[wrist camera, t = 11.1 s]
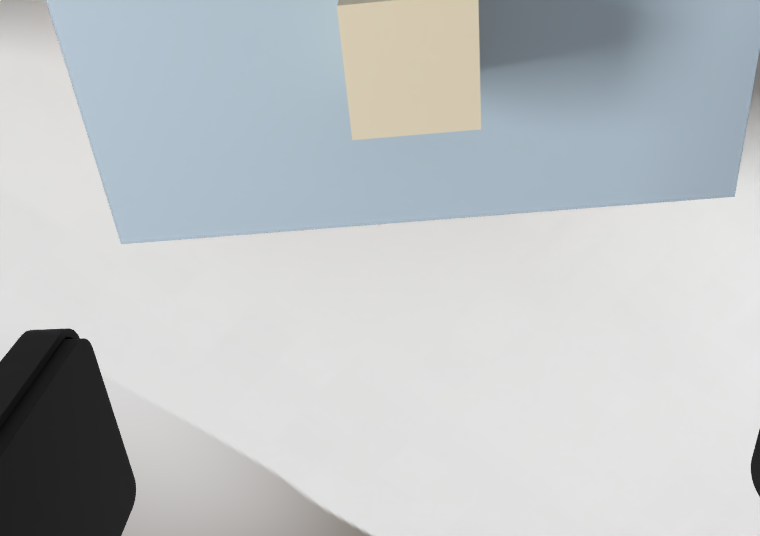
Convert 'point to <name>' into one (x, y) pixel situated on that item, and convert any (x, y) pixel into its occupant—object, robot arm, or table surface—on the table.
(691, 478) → the table surface
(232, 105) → the door
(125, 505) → the robot arm
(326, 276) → the table surface
